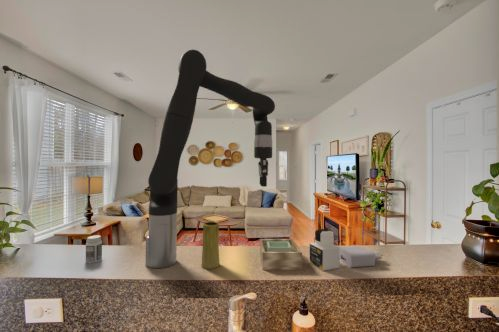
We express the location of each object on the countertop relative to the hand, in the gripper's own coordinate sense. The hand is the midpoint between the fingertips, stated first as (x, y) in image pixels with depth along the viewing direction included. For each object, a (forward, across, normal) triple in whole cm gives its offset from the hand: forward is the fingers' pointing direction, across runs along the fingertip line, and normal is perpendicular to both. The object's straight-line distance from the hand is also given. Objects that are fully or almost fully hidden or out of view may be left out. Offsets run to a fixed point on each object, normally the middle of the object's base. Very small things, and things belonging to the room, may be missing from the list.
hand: (263, 185), depth 93 cm
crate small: (+25, +12, +5) cm, 28 cm away
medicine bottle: (+26, +16, +20) cm, 37 cm away
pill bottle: (+26, +12, -61) cm, 68 cm away
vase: (+26, +16, -19) cm, 36 cm away
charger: (+27, +13, +35) cm, 46 cm away
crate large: (+26, +12, +5) cm, 29 cm away
